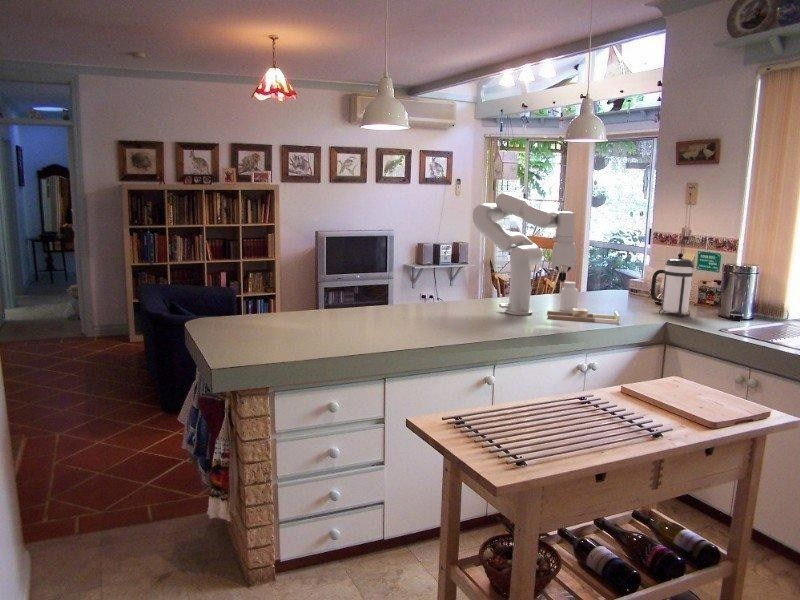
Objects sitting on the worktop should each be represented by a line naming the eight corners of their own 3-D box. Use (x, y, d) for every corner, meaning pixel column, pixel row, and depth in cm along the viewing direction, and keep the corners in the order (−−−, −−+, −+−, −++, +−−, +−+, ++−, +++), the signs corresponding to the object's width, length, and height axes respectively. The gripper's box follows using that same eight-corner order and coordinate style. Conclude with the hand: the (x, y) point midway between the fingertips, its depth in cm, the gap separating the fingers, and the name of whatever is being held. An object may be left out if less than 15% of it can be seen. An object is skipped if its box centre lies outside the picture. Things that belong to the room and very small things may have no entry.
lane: (547, 322, 280) (548, 310, 279) (546, 317, 291) (547, 306, 291) (618, 327, 274) (619, 315, 273) (615, 322, 285) (616, 311, 285)
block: (572, 319, 280) (573, 310, 280) (572, 316, 286) (572, 308, 285) (587, 320, 279) (587, 311, 278) (586, 317, 285) (586, 309, 284)
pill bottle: (557, 313, 301) (559, 282, 299) (561, 311, 308) (564, 280, 306) (574, 315, 298) (577, 283, 295) (578, 313, 305) (580, 282, 302)
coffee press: (684, 311, 318) (690, 252, 313) (695, 317, 303) (702, 255, 298) (648, 310, 320) (654, 250, 315) (657, 316, 304) (664, 253, 299)
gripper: (547, 239, 277) (544, 281, 279) (583, 241, 274) (580, 283, 276) (547, 238, 284) (544, 279, 287) (581, 240, 281) (579, 281, 284)
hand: (562, 281), depth 282 cm, fingers closed
